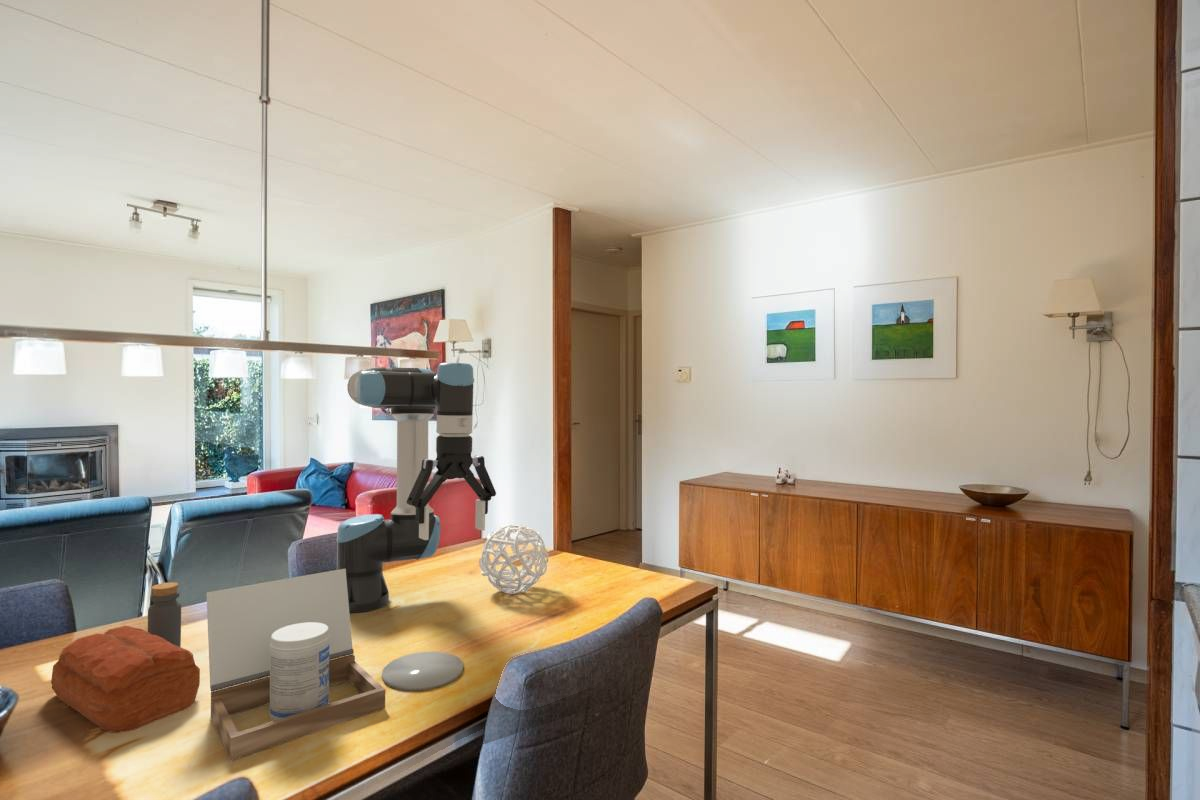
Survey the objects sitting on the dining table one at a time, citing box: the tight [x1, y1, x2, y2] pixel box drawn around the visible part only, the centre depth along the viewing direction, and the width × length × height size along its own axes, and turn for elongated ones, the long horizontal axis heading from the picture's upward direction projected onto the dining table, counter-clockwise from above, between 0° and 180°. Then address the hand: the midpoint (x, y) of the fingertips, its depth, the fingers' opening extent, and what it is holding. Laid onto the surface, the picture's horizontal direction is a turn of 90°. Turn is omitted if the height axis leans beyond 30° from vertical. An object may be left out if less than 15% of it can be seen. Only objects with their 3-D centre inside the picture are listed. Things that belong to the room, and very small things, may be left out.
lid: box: [206, 568, 355, 693], centre depth 116 cm, size 17×24×2 cm
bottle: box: [147, 581, 182, 648], centre depth 130 cm, size 6×6×15 cm
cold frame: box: [210, 653, 386, 761], centre depth 108 cm, size 16×24×4 cm
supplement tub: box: [269, 622, 330, 722], centre depth 108 cm, size 10×10×15 cm
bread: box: [50, 625, 201, 734], centre depth 112 cm, size 16×27×11 cm, turn 59°
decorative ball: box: [478, 524, 550, 595], centre depth 176 cm, size 20×20×19 cm
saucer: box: [381, 651, 464, 692], centre depth 125 cm, size 16×16×1 cm
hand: (452, 534), depth 130 cm, fingers open, 13 cm apart
